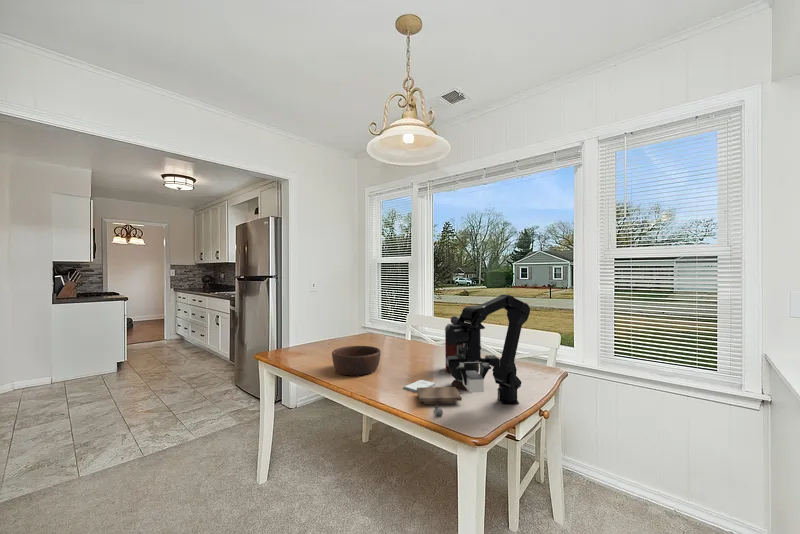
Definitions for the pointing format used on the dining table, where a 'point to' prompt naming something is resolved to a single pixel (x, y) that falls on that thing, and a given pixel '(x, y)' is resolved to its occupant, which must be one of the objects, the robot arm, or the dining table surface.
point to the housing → (474, 382)
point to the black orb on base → (457, 374)
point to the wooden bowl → (356, 360)
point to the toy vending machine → (449, 349)
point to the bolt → (438, 411)
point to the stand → (438, 395)
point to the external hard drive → (419, 385)
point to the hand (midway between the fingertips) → (472, 384)
